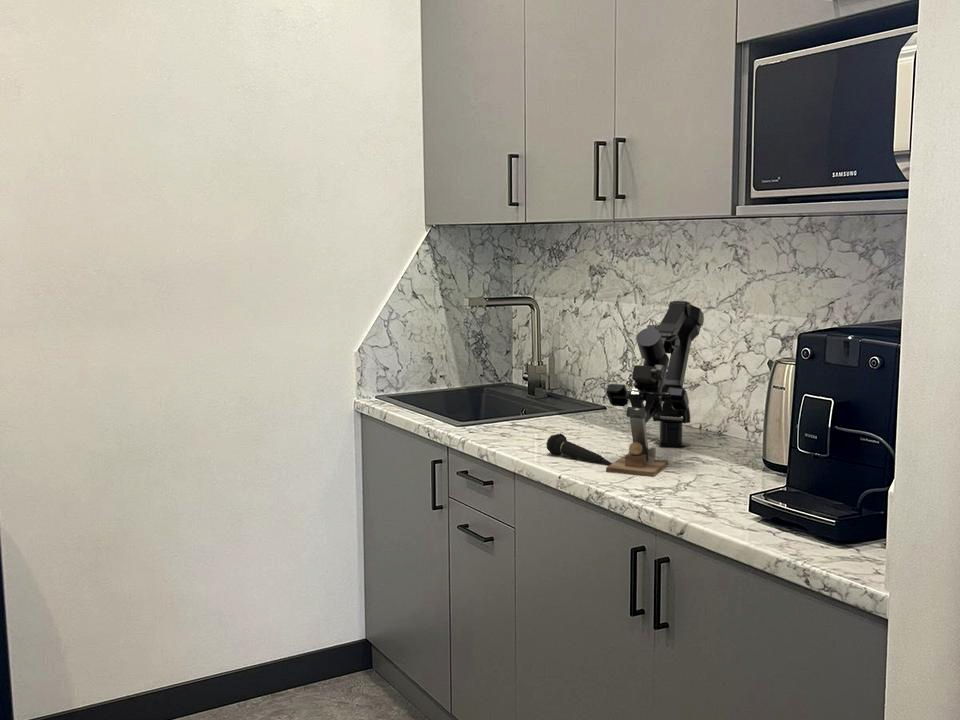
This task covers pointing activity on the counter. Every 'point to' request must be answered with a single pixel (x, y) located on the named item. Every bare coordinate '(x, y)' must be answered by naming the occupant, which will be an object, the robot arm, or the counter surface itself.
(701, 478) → the counter surface
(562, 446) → the microphone
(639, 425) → the lever
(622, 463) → the nutcracker base
